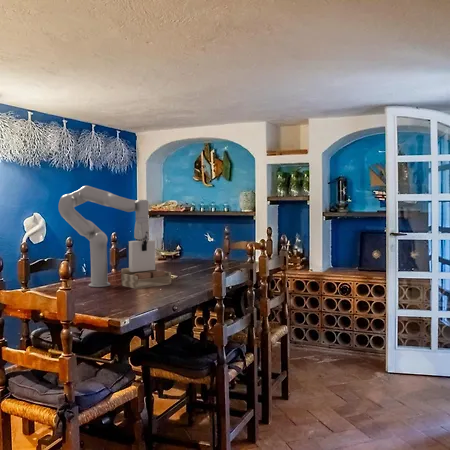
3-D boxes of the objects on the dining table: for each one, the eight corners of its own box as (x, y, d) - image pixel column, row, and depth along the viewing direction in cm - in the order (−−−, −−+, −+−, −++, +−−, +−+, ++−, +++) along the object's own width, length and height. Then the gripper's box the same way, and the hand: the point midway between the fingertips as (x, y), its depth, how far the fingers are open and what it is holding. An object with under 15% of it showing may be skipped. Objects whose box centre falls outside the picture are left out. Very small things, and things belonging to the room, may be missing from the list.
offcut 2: (149, 285, 296) (149, 271, 295) (160, 283, 301) (160, 270, 301) (153, 285, 293) (153, 272, 292) (164, 284, 298) (164, 271, 298)
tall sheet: (128, 271, 295) (128, 241, 294) (151, 269, 306) (151, 240, 305) (132, 272, 292) (132, 241, 291) (155, 269, 303) (155, 240, 302)
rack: (121, 285, 295) (121, 268, 294) (155, 280, 311) (155, 265, 310) (136, 288, 282) (135, 271, 282) (171, 284, 298) (170, 267, 298)
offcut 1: (135, 287, 289) (135, 273, 289) (146, 285, 294) (146, 272, 294) (139, 287, 286) (138, 274, 286) (150, 286, 291) (150, 272, 291)
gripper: (129, 219, 301) (129, 249, 302) (144, 220, 289) (144, 251, 290) (140, 219, 306) (140, 249, 307) (155, 220, 294) (155, 251, 295)
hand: (142, 250), depth 298 cm, fingers closed on tall sheet, 4 cm apart
